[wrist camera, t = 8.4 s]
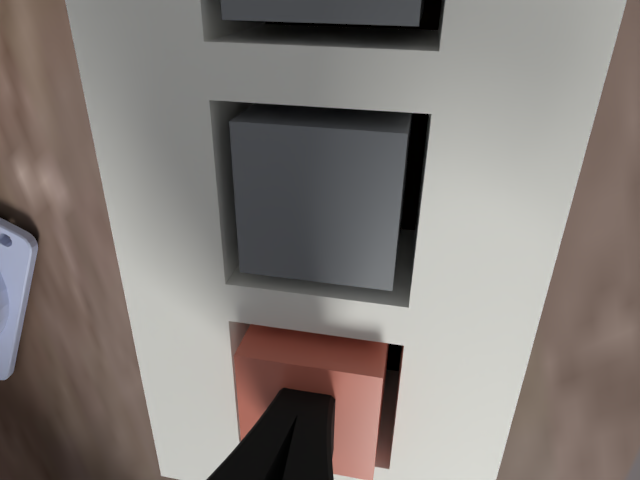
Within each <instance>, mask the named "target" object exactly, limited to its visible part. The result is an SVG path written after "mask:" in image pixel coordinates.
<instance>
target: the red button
mask: <svg viewBox="0 0 640 480" xmlns="http://www.w3.org/2000/svg"><path fill="white" fill-rule="evenodd" d="M388 351H389V343H382V342H375V341H368V340H361V339H354V338H346V337H339V336H332V335H325V334H318V333H311V332H304V331H297V330H290V329H282V328H275V327H268V326H261V325H254V324H250V326H249V328H248V330H247V331H246V333H245V335H244V337H243V339H242V341H241V343H240V345H239V347H238V348H237V350H236V352H235V354H234V364H235V376H236V387H237V399H238V411H239V422H240V434H241V441H242V439H243V438H244V437H245V436H246V435H247V433H248V432H249V431H250V430H251V429H252V427H253V426H254V425H255V423H256V422H257V421H258V420H259V418H260V417H261V416H262V414H263V413H264V412H265V410H266V409H267V408H268V406H269V405H270V403H271V402H272V401H273V399H274V398H275V396H276V395H277V393H278V392H279V390H281V389H282V388H289V389H295V390H301V391H308V392H314V393H320V394H327V395H332V396H333V398H334V399H335V425H334V451H333V458H332V464H333V474H336V475H342V476H347V477H352V478H358V479H363V480H373V477H374V469H375V461H376V453H377V444H378V436H379V428H380V420H381V412H382V404H383V396H384V388H385V379H386V370H387V360H388Z"/></svg>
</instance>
